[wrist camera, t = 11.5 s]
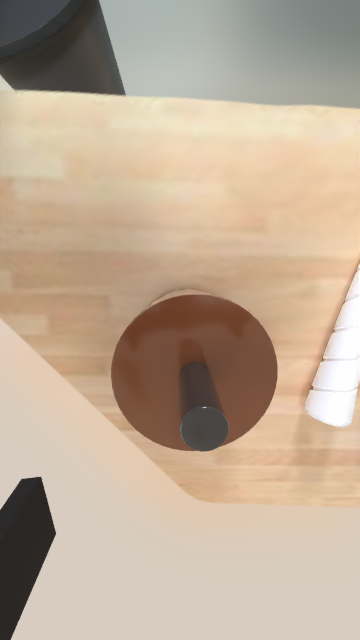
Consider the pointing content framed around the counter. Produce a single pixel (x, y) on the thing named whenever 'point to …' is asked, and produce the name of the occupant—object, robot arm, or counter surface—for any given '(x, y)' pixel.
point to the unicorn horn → (339, 366)
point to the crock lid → (194, 372)
